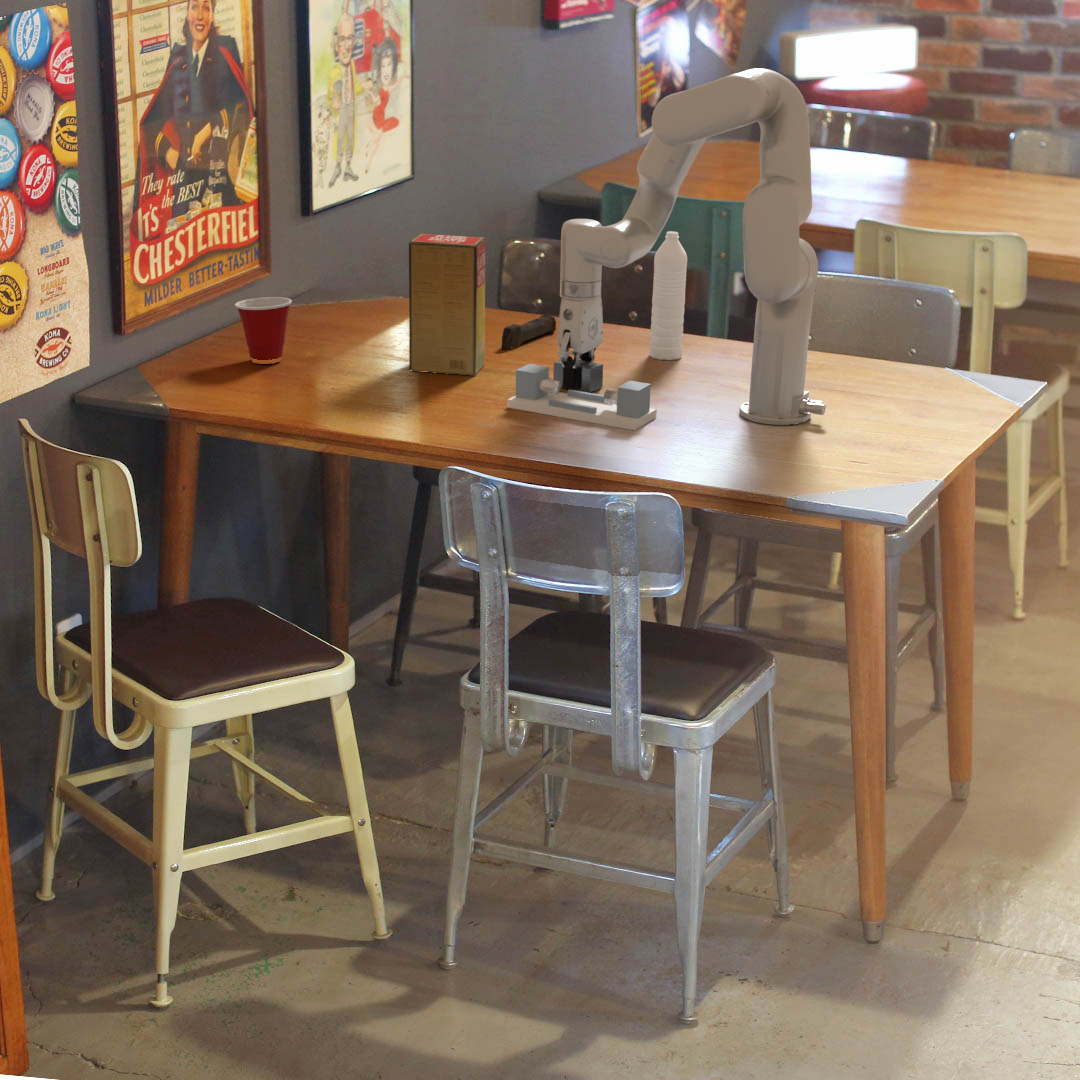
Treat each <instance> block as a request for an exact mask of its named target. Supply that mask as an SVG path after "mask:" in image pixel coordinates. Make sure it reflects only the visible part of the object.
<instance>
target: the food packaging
mask: <svg viewBox="0 0 1080 1080" xmlns="http://www.w3.org/2000/svg"><path fill="white" fill-rule="evenodd" d="M486 251H487V238H486V237H484V236H464V235H449V234H448V235H446V234H429V233H419V234H418V235H416V236H415V237H413V238H412V239H411V240H410V241H409V242H408V298H409V299H408V300H409V301H408V303H409V304H408V305H409V307H408V308H409V309H408V310H409V321H408V323H409V331H408V332H409V333H408V334H409V336H408V337H409V342H408V343H409V347H408V348H409V352H408V353H409V356H408V357H409V363H408V364H409V365H408V366H409V367H408V368H409V370H412V371H428V372H436V373H448V374H447V375H449V374H459V375H458V376H461V375H470V376H469V377H476V376H477V374H478V373H479V372H480V371H481V369H482V368H483V367H484V366H485V345H486V344H485V339H486V338H485V337H486V331H485V330H486V329H485V328H486V326H485V325H486V324H485V323H486V271H487V270H486V263H487V261H486V258H487V257H486V256H487V255H486V254H487V252H486ZM482 366H483V367H482Z"/></svg>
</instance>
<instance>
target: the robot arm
mask: <svg viewBox="0 0 1080 1080" xmlns="http://www.w3.org/2000/svg"><path fill="white" fill-rule="evenodd" d="M651 115H652V116H651V129H652V132H653V133H652V135H651V137H650V139H649V141H648V143H647V144H646V146H645V148H644V150H643V152H642V154H641V155H640V157H639V159H638V161H637V162H636V172H637V176H638V187H637V190H636V192H635V195H634V197H633V199H632V201H631V203H630V205H629V207H628V209H627V210H626V213H625V215H624V216H623V218H622V219H621V220H619V221H618V222H616V223H613V224H609V225H606V226H603V225H602V223H601V222H599V221H598V220H594V219H590V218H574V219H573V218H572V219H568V220H566V221H564V222H563V223H562V227H561V232H560V233H561V234H560V269H559V270H560V274H559V276H560V279H559V280H560V281H559V297H560V298H561V301H560V305H559V306H560V307H559V315H558V329H557V346H558V352H557V353H558V354H557V356H558V358H559V360H561V361H562V367H563V387H564V388H563V389H567V388H568V390H572V389H574V390H575V391H577V390H578V389H579V384H580V368H578V363H579V360H584V361H589V362H594V361H595V358H596V357H595V351H596V350H597V348H598V347H599V346H601V345H602V343H603V340H604V339H603V338H604V325H603V324H604V321H603V320H604V318H603V317H604V316H603V313H604V312H603V303H602V274H603V273H602V272H603V271H602V270H603V266H604V267H608V268H611V269H612V268H613V269H620V268H621V269H622V268H624V267H626V266H629V265H630V264H632V263H634V262H635V261H637V260H640V259H641V258H643V257H644V256H646V255H647V254H648V253H649V252H651V249H653V246H654V245H655V244H656V243H657V240H658V238H659V237H660V235H661V233H662V231H663V230H664V228H665V226H666V224H667V222H668V220H669V218H670V217H671V216H670V215H671V214H672V211H673V209H674V206H675V204H676V200H677V198H678V196H679V191H680V187H681V186H682V184H683V183H684V180H685V178H686V176H687V175H688V173H689V170H690V169H691V167H692V166H693V163H694V162H695V160H696V158H697V156H698V155H699V153H700V150H702V147H703V146H704V143H705V142H706V140H707V139H708V138H711V137H714V136H717V135H720V134H723V133H726V132H729V131H733V130H736V129H739V128H743V127H747V126H750V125H751V124H754V123H757V124H759V128H760V138H759V149H758V157H759V181H758V184H756V185H755V186H753V188H752V189H751V190H750V191H749V193H748V194H747V196H746V199H745V201H744V204H743V210H742V243H743V248H742V249H743V251H742V252H743V271H744V278H745V279H744V280H745V283H746V286H747V288H748V290H749V291H750V294H752V295H753V297H755V299H757V303H756V312H755V319H754V321H755V322H754V334H753V345H752V347H753V348H752V360H751V372H750V387H749V395H748V397H749V399H748V401H745V402H743V403H741V404H740V405H739V414H740V416H741V417H743V418H744V419H746V420H748V421H751V422H754V423H759V424H766V425H773V426H791V425H790V424H793V425H797V424H796V423H799V424H801V423H800V422H803V423H805V422H804V421H806V420H808V419H809V418H810V419H811V416H812V414H813V415H817V416H818V415H819V416H824V415H825V413H826V407H827V406H826V404H824V401H822V400H813V399H811V398H810V396H809V395H810V391H809V390H805V383H806V374H807V373H806V372H807V363H808V362H807V360H808V350H809V342H810V341H809V339H810V331H811V322H812V321H811V320H812V310H813V304H814V296H815V292H816V287H817V280H818V272H819V262H818V257H817V255H816V251H815V249H814V248H813V246H811V243H809V242H808V241H806V240H805V239H803V238H801V237H800V226H801V225H802V224H804V223H805V222H806V221H807V220H808V219H809V216H810V215H811V212H812V208H813V193H812V190H813V189H812V165H811V164H812V163H811V162H812V159H811V158H812V157H811V142H810V140H811V139H810V138H811V137H810V118H809V117H810V116H809V112H808V107H807V104H806V100H805V99H804V96H803V94H802V93H801V91H800V89H799V88H798V87H797V85H796V84H795V83H794V82H793V81H791V80H790V79H789V78H787V77H786V76H784V75H782V74H781V73H779V72H777V71H775V70H772V69H769V68H768V69H767V68H756V67H755V68H749V69H746V70H742V71H740V72H736V73H731V74H729V75H726V76H723V77H721V78H718V79H715V80H712V81H710V82H706V83H703V84H701V85H698V86H695V87H692V88H688V89H685V90H682V91H678V92H674V93H671V94H668V95H666V96H664V97H663V98H662V99H661V100H659V102H658V103H657V104H656V106H655V107H654V109H653V112H652V114H651ZM570 349H573V350H570ZM571 355H573V357H572V356H571ZM572 358H573V359H574V360H573V359H572ZM810 419H809V420H810ZM809 420H808V421H809ZM806 422H807V421H806Z"/></svg>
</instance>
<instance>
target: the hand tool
mask: <svg viewBox="0 0 1080 1080" xmlns="http://www.w3.org/2000/svg"><path fill="white" fill-rule="evenodd" d="M556 330H557V321H556V318H555V317H554V316H552V315H549V314H542V315H540V316H539V317H538V318H534V319H532V320H528V321H527V322H525V323H523V324H515V323H512V324H511V325H507V326H505V327H504V328H503V331H502V336H501V350H503V349H504V350H509V349H508V348H511V347H514V348H517V347H516V346H518V347H520V346H519V345H521V346H522V343H524V342H527V341H529V340H532V339H534V338H537V337H540V336H542V335H546V334H547V333H549V334H554V333H555V332H556ZM511 349H512V348H511Z"/></svg>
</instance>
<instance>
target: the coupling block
mask: <svg viewBox="0 0 1080 1080" xmlns="http://www.w3.org/2000/svg"><path fill="white" fill-rule="evenodd" d="M572 359H573V360H574V357H572ZM578 368H580V384H579V389H578V390H576V391H581V392H587V393H594V392H595V391H597V390H601V389H602V388H603V382H604V381H603V379H604V363H599V362H594V361H591V362H589V361H584V360H581V359H579V363H578ZM552 378H553V379H552V380H555V381H560V382H561V389H562V388H563V389H565V388H564V387H563V367H562V361H561V359H558V360H556V361H554V362H553V377H552ZM566 389H568V388H566ZM568 390H569V389H568ZM571 390H574V389H571Z"/></svg>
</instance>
